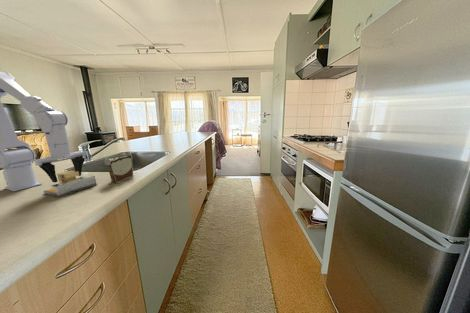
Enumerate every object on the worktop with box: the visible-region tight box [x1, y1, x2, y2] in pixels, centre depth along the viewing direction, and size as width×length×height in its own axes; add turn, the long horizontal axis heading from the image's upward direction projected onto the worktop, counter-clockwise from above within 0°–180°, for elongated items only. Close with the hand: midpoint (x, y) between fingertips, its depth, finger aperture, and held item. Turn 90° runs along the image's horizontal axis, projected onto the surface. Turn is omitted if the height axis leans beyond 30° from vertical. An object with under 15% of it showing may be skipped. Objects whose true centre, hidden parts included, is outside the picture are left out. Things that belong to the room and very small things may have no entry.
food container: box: [103, 153, 134, 184], centre depth 78 cm, size 12×6×10 cm, turn 168°
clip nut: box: [56, 170, 79, 184], centre depth 70 cm, size 5×4×5 cm
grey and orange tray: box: [43, 174, 98, 198], centre depth 69 cm, size 10×12×4 cm
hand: (67, 178), depth 71 cm, fingers open, 7 cm apart
